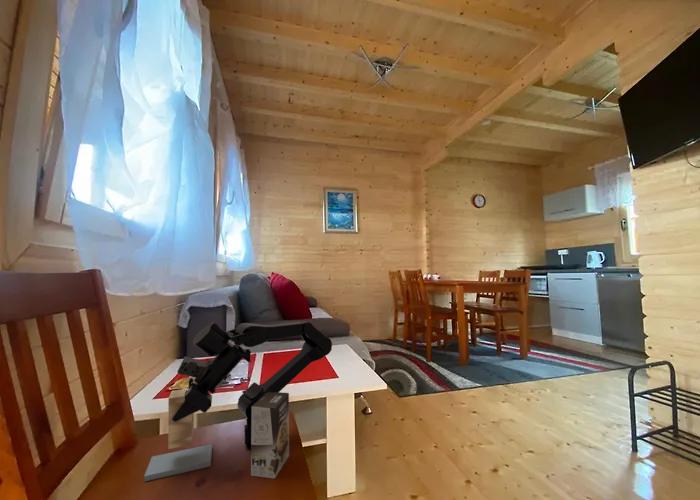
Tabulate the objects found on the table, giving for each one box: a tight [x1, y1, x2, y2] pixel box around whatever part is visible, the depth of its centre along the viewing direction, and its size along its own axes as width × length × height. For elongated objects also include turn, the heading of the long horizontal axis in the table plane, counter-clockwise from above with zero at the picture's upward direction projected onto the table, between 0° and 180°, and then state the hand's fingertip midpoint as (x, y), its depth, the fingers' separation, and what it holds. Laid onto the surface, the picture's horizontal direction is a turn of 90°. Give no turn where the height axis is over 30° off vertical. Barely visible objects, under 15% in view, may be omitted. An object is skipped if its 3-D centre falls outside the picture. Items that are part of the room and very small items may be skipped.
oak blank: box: [167, 387, 195, 450], centre depth 78 cm, size 5×5×12 cm
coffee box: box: [250, 391, 290, 479], centre depth 77 cm, size 9×6×16 cm
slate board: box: [143, 443, 213, 483], centre depth 78 cm, size 14×8×1 cm, turn 111°
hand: (175, 415), depth 78 cm, fingers closed on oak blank, 5 cm apart
